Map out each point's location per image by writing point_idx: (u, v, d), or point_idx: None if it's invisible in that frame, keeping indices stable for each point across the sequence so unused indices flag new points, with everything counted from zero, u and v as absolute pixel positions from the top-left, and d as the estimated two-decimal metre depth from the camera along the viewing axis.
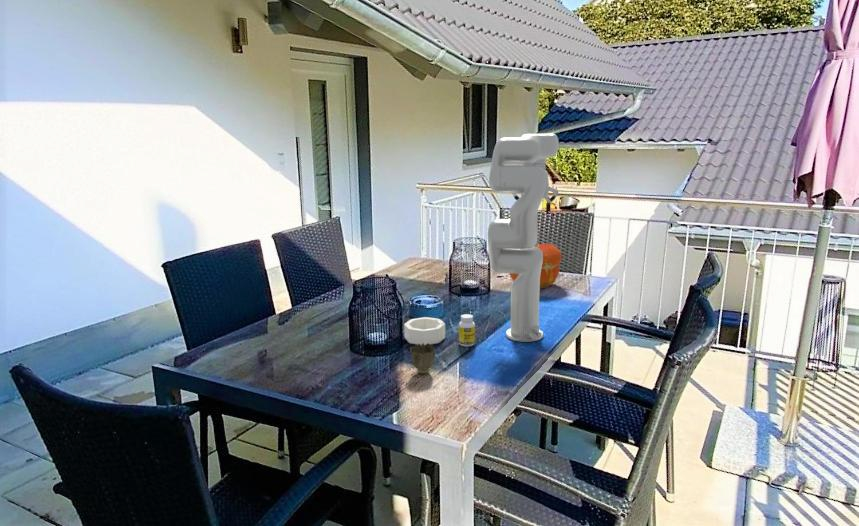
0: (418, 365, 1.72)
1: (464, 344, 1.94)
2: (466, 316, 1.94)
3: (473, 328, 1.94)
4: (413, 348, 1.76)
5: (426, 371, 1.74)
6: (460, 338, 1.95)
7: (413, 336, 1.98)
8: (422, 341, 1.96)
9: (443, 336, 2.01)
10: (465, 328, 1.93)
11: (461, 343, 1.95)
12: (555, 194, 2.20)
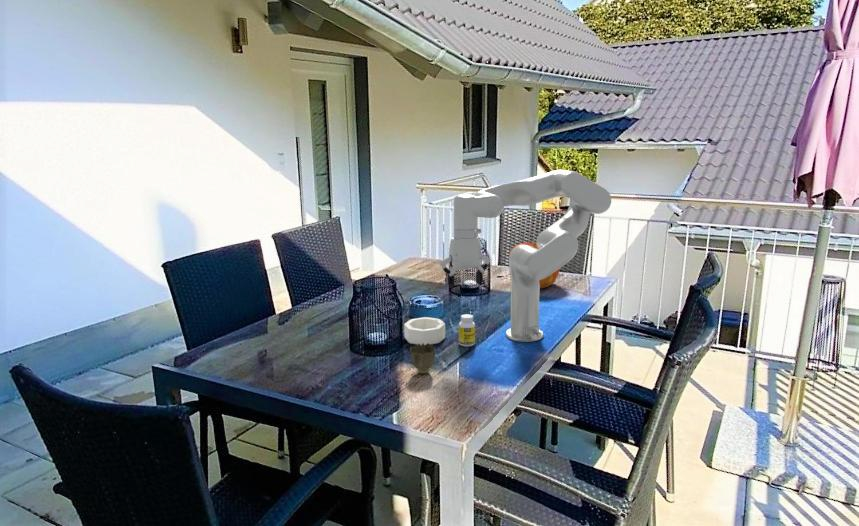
0: (418, 365, 1.72)
1: (464, 344, 1.94)
2: (466, 316, 1.94)
3: (473, 328, 1.94)
4: (413, 348, 1.76)
5: (426, 371, 1.74)
6: (460, 338, 1.95)
7: (413, 336, 1.98)
8: (422, 341, 1.96)
9: (443, 336, 2.01)
10: (465, 328, 1.93)
11: (461, 343, 1.95)
12: None
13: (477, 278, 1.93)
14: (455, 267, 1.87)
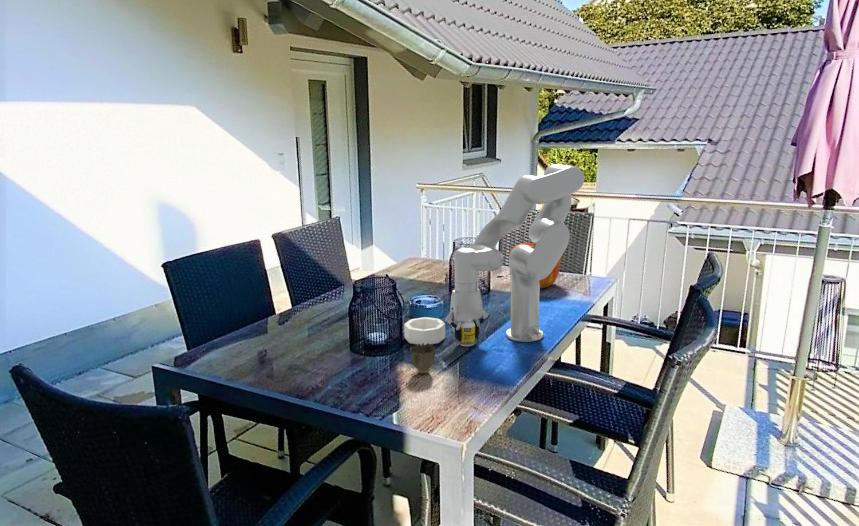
0: (419, 365, 1.72)
1: (464, 344, 1.94)
2: None
3: (473, 328, 1.94)
4: (413, 348, 1.76)
5: (426, 371, 1.74)
6: None
7: (413, 336, 1.98)
8: (422, 341, 1.96)
9: (443, 336, 2.01)
10: (465, 328, 1.93)
11: (461, 343, 1.95)
12: None
13: None
14: (457, 319, 1.91)
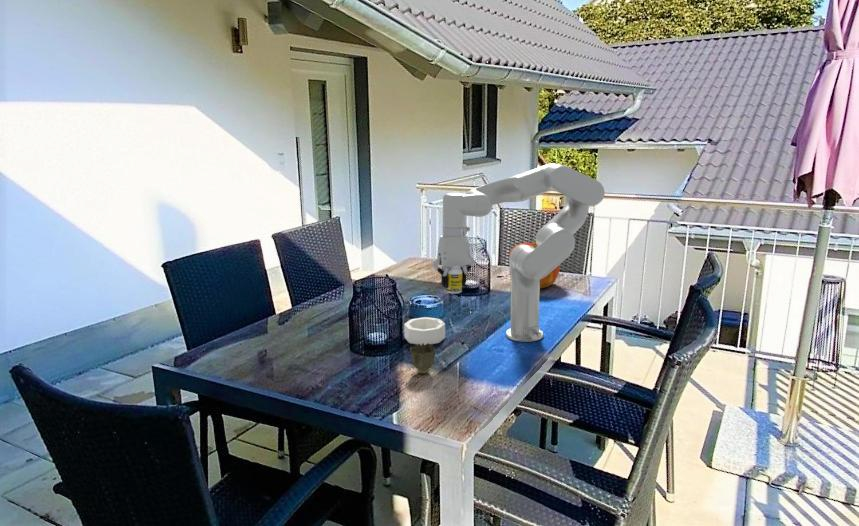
0: (418, 365, 1.72)
1: (451, 291, 1.91)
2: None
3: (460, 275, 1.91)
4: (413, 348, 1.76)
5: (426, 371, 1.74)
6: None
7: (413, 336, 1.98)
8: (422, 341, 1.96)
9: (443, 336, 2.01)
10: (452, 274, 1.90)
11: (448, 290, 1.92)
12: None
13: None
14: (444, 265, 1.88)
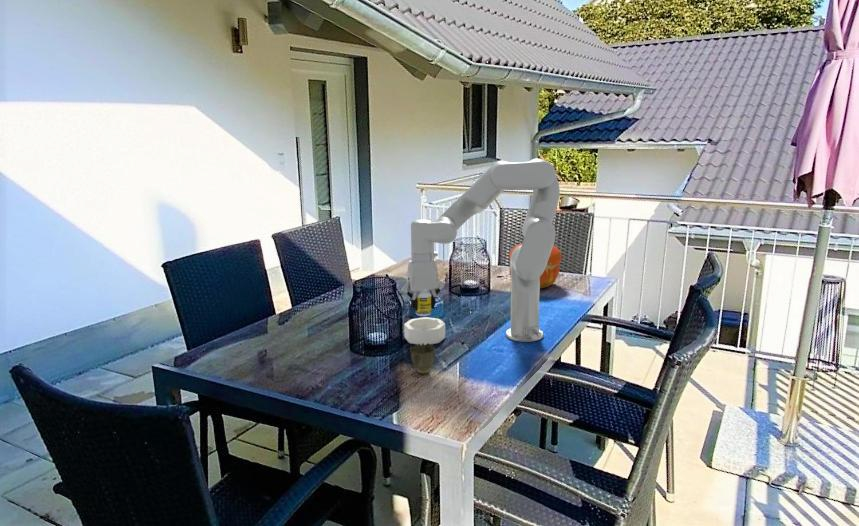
0: (418, 365, 1.72)
1: (420, 313, 1.99)
2: None
3: (429, 298, 1.98)
4: (413, 348, 1.76)
5: (426, 371, 1.74)
6: None
7: (413, 336, 1.98)
8: (422, 341, 1.96)
9: (443, 336, 2.01)
10: (421, 298, 1.97)
11: (417, 313, 1.99)
12: None
13: None
14: (412, 289, 1.96)
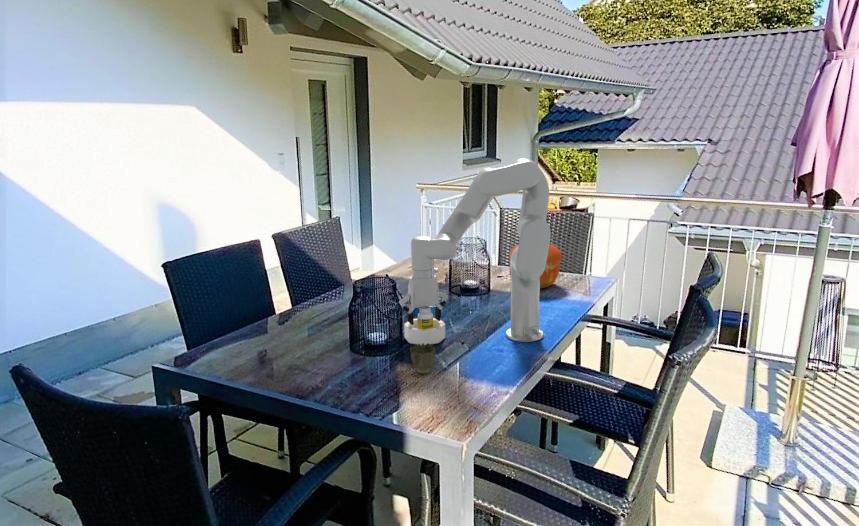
0: (418, 365, 1.72)
1: None
2: (424, 308, 2.00)
3: (431, 319, 2.00)
4: (413, 348, 1.76)
5: (426, 371, 1.74)
6: None
7: (413, 336, 1.98)
8: (422, 341, 1.96)
9: (443, 336, 2.01)
10: (423, 319, 1.99)
11: None
12: None
13: (436, 314, 2.03)
14: (413, 305, 1.97)
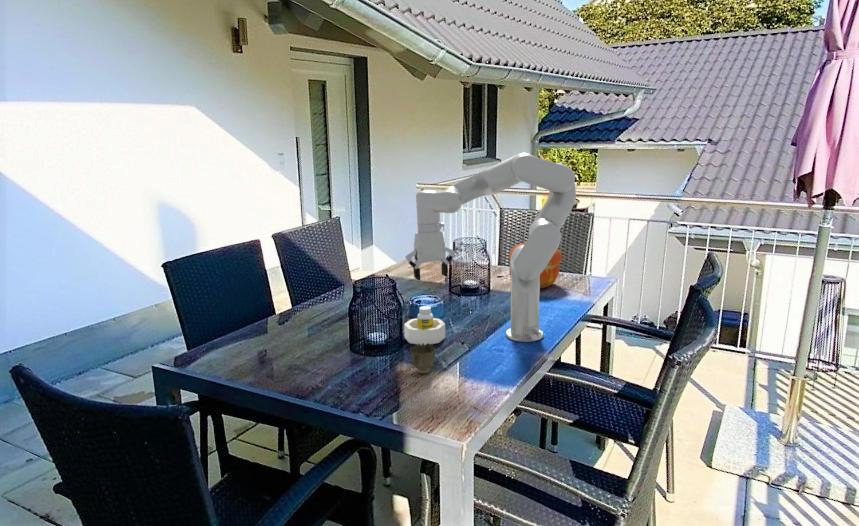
0: (418, 365, 1.72)
1: None
2: (424, 308, 2.00)
3: (431, 319, 2.00)
4: (413, 348, 1.76)
5: (426, 371, 1.74)
6: None
7: (413, 336, 1.98)
8: (422, 341, 1.96)
9: (443, 336, 2.01)
10: (423, 319, 1.99)
11: None
12: None
13: (442, 270, 2.02)
14: (420, 260, 1.95)
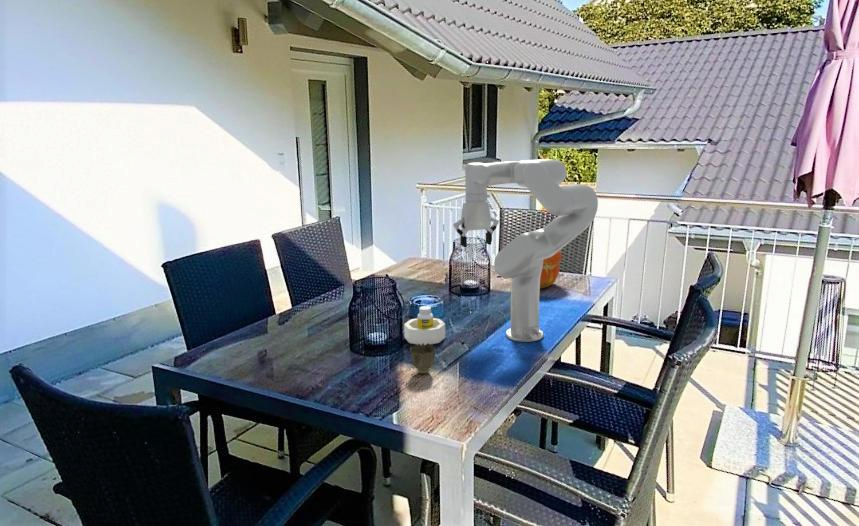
0: (419, 365, 1.72)
1: None
2: (424, 308, 2.00)
3: (431, 319, 2.00)
4: (413, 348, 1.76)
5: (426, 371, 1.74)
6: None
7: (413, 336, 1.98)
8: (422, 341, 1.96)
9: (443, 336, 2.01)
10: (423, 319, 1.99)
11: None
12: None
13: (487, 238, 2.15)
14: (467, 228, 2.09)
